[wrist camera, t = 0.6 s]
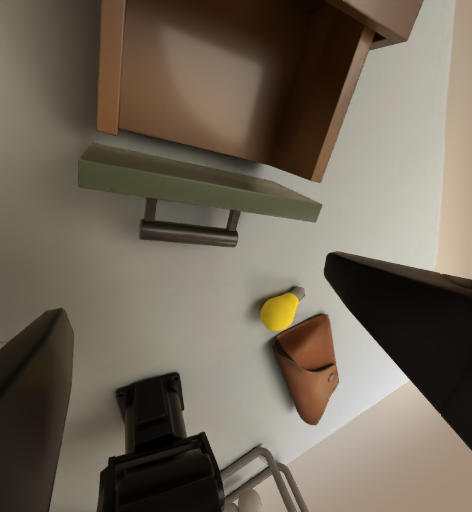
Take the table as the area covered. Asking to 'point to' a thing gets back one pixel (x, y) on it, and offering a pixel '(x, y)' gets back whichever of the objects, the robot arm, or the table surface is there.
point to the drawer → (222, 102)
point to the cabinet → (383, 18)
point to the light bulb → (281, 309)
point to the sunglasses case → (308, 365)
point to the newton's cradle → (247, 496)
